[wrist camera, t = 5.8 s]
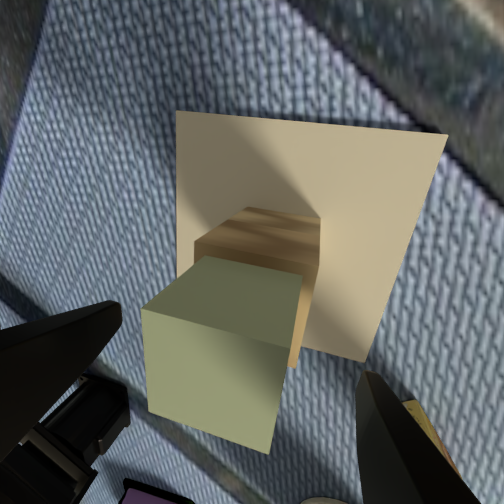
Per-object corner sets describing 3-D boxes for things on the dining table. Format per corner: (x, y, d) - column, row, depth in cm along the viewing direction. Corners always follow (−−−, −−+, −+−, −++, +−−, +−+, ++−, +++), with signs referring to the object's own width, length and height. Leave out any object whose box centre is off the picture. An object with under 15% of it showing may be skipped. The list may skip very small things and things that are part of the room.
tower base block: (241, 270, 19) (222, 296, 16) (247, 206, 17) (227, 219, 14) (306, 285, 18) (302, 316, 15) (320, 218, 16) (320, 235, 13)
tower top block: (222, 296, 16) (192, 338, 12) (227, 219, 14) (194, 241, 10) (302, 316, 15) (295, 368, 11) (320, 235, 13) (319, 266, 9)
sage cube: (202, 333, 12) (148, 411, 8) (205, 255, 10) (140, 308, 7) (286, 356, 11) (268, 455, 7) (302, 275, 9) (290, 348, 6)
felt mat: (180, 309, 23) (177, 312, 22) (180, 111, 17) (176, 110, 16) (363, 357, 20) (364, 363, 19) (443, 135, 14) (448, 134, 13)
